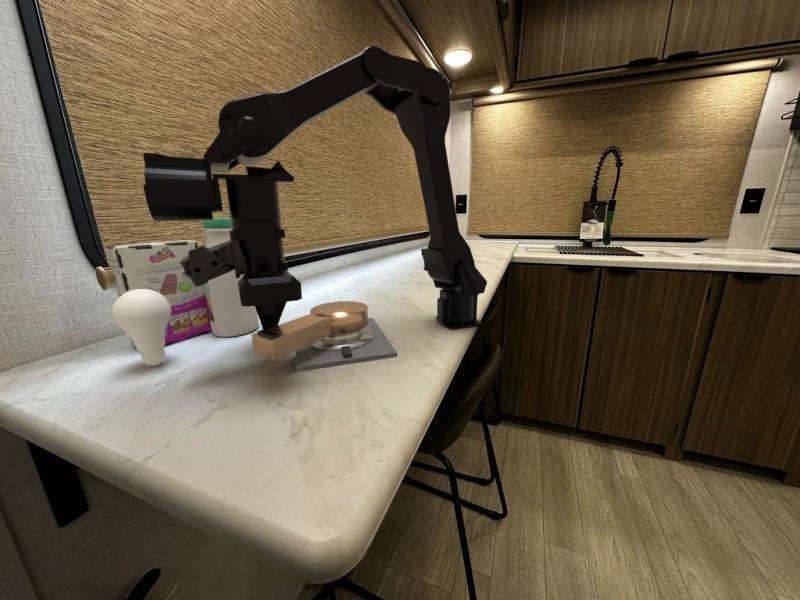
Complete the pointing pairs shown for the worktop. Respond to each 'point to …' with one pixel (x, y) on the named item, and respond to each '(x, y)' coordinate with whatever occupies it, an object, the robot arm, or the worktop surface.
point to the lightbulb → (144, 322)
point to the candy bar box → (163, 283)
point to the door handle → (310, 328)
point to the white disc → (344, 340)
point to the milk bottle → (226, 291)
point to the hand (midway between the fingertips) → (269, 336)
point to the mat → (346, 352)
